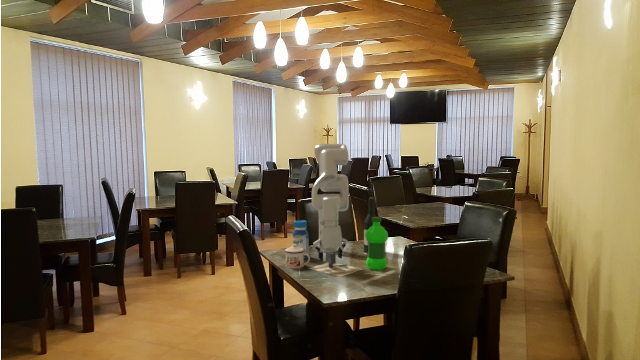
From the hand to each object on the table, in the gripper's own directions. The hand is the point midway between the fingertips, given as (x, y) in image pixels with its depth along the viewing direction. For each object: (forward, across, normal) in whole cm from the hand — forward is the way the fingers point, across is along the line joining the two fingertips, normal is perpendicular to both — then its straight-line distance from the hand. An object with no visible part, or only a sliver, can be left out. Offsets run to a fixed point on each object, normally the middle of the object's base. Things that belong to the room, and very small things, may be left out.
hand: (330, 258), depth 217 cm
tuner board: (+5, +1, -3) cm, 6 cm away
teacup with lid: (+6, -13, +9) cm, 17 cm away
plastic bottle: (+5, +19, -10) cm, 22 cm away
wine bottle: (+6, +35, +25) cm, 44 cm away
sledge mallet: (+4, +3, -1) cm, 5 cm away
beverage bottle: (+6, -6, +24) cm, 26 cm away
